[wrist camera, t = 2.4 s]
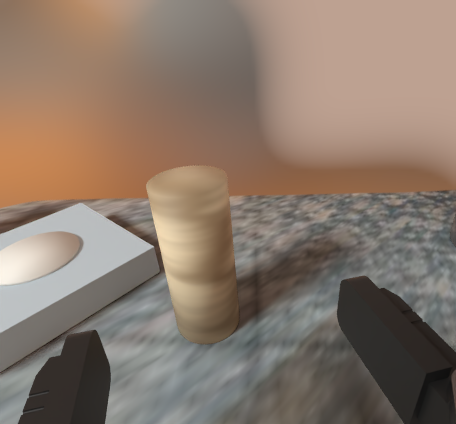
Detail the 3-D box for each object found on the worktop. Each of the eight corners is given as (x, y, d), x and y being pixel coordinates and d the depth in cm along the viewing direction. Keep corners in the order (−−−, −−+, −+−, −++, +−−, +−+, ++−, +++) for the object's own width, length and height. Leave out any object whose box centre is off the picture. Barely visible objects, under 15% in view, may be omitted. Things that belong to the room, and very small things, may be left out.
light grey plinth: (87, 223, 41) (80, 200, 39) (160, 271, 31) (153, 244, 29) (-67, 290, 31) (-85, 264, 30) (-35, 394, 21) (-60, 362, 20)
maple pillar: (209, 287, 28) (191, 160, 23) (252, 314, 25) (243, 174, 19) (164, 321, 25) (130, 184, 20) (207, 356, 22) (181, 205, 16)
